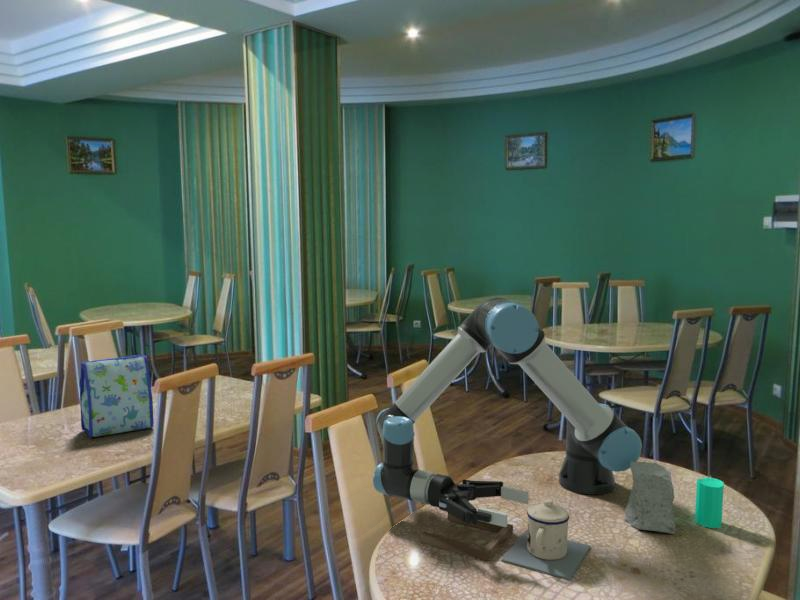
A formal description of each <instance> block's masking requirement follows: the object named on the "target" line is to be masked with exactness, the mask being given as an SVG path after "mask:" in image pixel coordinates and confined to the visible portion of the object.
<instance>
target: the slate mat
mask: <svg viewBox="0 0 800 600" xmlns="http://www.w3.org/2000/svg"><path fill="white" fill-rule="evenodd" d="M527 533H528V529H526V530H525V531H524V532H523V534H521V536H520V537H519V538H518V539H517V540H516V542H515V543H514V544H513V545H512V546H510V547H511V548H509V550H508V551H507V552H506V553H505V554H504V555H503V557H502V558H500V561H501V562H504V563H506V564H510V565H514V566H517V567H522V568H525V569H529V570H532V571H537V572H539V573H543V574H546V575H550V576H554V577H557V578H561V579H563V580H564V579H565V580H569V581H571V579H572V578H573V575H574V574H575V573H576V571H577V570H578V568H579V566H580V565H581V563H582V562H583V560H584V558H585V557H586V555H587V554H588V553H589V550H591V545H589V544H585V543H581V542H579V541H573V540H570V539H567V553H566V555H565V556H564V557H563V558H561V559H557V560H545V559H541V558H538V557H535V556H533V555H532V554H531V553H530V552H529V551H528V549H527Z"/></svg>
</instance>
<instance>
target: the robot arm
mask: <svg viewBox="0 0 800 600" xmlns="http://www.w3.org/2000/svg"><path fill="white" fill-rule="evenodd" d="M545 340H546V333H545V331H544V329H542V327H541V326H540V325H539V323H538V320H537V318H536V316H535V315H534V313H533V312H532V311H531V310H530V309H529V308H528V307H527V306H525V305H523V304H521V303H518V302H514V301H510V300H508V299H506V298H501V297H493V298H489V299H487V300H484V301H483V302H481V303H480V304H479V305H478V306H476V308H475V309H473V311H472V312H471V313H470V314H469V315H468V316H467V317H466V318H465V319H464V321H462V322H461V324H459V326H458V327H457V334H456V335H455V336H454V337H453V338H452V339H451V340H450V342H449V343H448V344H447V345H446V346H445V347H444V348H443V349H441V352H439V353H438V355H437V356H436V357H435V358H434V359H433V360H432V361H431V362H430V364H428V366H427V367H426V368H425V369H424V370H423V371H422V372H421V373H420V374H419V375H418V376H417V378H416V379H415V380H414V381H413V382H412V383H411V384H410V385H409V386H408V388H406V390H404V391H403V393H402V394H401V395H400V396H399V397H398V398H397V399H396V400H395V402H394V403H393V404H392V405H391V406H390V407H388V408H384V409H382V410H381V411H380V412H379V413H378V415H377V417H376V421H375V427H376V430H377V433H378V434H379V436H380V439H381V443H382V449H383V450H382V451H383V461H382V462H380V463H379V464H377V466H376V467H375V468H374V472H373V473H374V474H373V476H372V484H373V488H374V489H375V490H376V492H378V493H380V494H384V495H387V496H389V497H391V498H392V497H395V498H398V499H403V500H408V501H412V502H416V503H420V505H426V506H427V505H429V506H431V507H435V508H438V509H439V510H440V511H443V512H446V513H447V514H448V513H450V514H451V515H453V516H455V517H456V518H458V519H460V520H461V521H463V522H465V523H467V524H470V523H471V524H474V525H475V524H477V520H478V521H482V522H486V523H490V524H494V525H498V526H502V527H507V524H508V513H506V512H501V511H496V510H492V509H488V508H485V507H479V506H478V508H476V507H475V506H474V505H473V504H472V503H471V502H470V501H475V500H476V499H480V498H494V497H500V499H503V500H507V501H512V502H516V503H521V504H524V505H525V504H526V505H528V504H529V495H530V493H529V491H527V490H522V489H517V488H513V487H508V486H505V485H504V481H498V480H497V481H495V480H493V481H492V480H470V479H462V482H461V483H455V482H454V480H453V477H451V476H449V475H445V474H441V473H435V472H432V471H427V470H423V469H422V470H421V469H416V468H414V461H415V460H414V451H415V450H414V449H415V448H414V444H415V443H414V442H415V431H414V429H415V428H414V424H415V423H416V422H417V421H418V420H419V419H420V417H421V416H422V415H424V413H426V411H427V410H428V409H429V408H430V406H431V405H432V404H433V403H434V402H436V400H437V399H438V398H439V397H440V396H441V395H442V394H443V393H444V392H445V391H446V389H447V388H448V387H449V386H450V385H451V384H452V383H453V382H454V380H455V379H456V378H457V377H458V376H459V375H460V374H461V373H462V372H464V370H465V368H467V366H469V364H470V363H471V362H472V361H473V360H474V359H475V358H476V356H477V355H479V353H485V352H486V351H487V350H488V349H489V348H490V347H491V346H493V347H494V348H495V349H496V351H498V352H499V354H500V355H502V357H503V358H504V359H505V360H506V362H508V363H509V364H511V365H518V366H519V367H520V368H521V369H522V370H523V371H524V372H525V374H526V375H527V376H528V377H529V378H530V379H531V380H532V381H533V382H534V384H535V385H536V386H537V387H538V388H539V389H540V390H541V391H542V393H543V394H544V395H545V396H546V397H547V398H548V399H549V400H550V401H551V403H552V404H553V405H554V406H555V408H557V409H558V410H559V412H561V414H562V415H563V416H564V417H565V418H566V432H565V434H566V437H565V457H564V459H563V461H562V465H561V468H560V470H559V473H558V483H559V485H560V486H561V487H563V488H564V489H566V490H568V491H571V492H575V493H578V494H583V495H604V494H608V493H611V492H612V491H613V490H614V489H615V486H616V485H615V483H616V480H615V478H616V477H615V475H614V473H613V472H616V473H617V472H624V471H627V470H629V469H631V468H630V462H631V461H632V462H639V459H640V458H641V455H642V449H643V444H642V439H641V437H640V435H639V434H638V433H637V432H636V431H635V430H634V429H633V428H631V427H628V426H627V424H625V423H624V421H622V419H621V418H620V417H619V416H618V415H617V414H616V412H614V410H613V409H612V408H611V406H610V405H609V404H605V403H599V402H598V401H597V400H596V399H595V398H594V397H593V395H592V394H591V393H590V392H589V391H588V390H587V389H586V387H585V386H584V385H583V384H582V383H581V382H580V381H579V380H578V378H577V377H576V376H575V375H574V373H573V372H572V371H571V370H570V369H569V368H568V366H566V364H564V362H563V361H562V360H561V359H560V357H558V355H557V353H555V352H554V350H553V349H552V348H551V347H550V345H548V344H547V343H546V341H545ZM467 524H466V525H467Z"/></svg>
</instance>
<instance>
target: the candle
mask: <svg viewBox="0 0 800 600" xmlns="http://www.w3.org/2000/svg"><path fill="white" fill-rule="evenodd" d="M724 486H725V482H724V481H722V480H721V479H718V478H714V477H712V475H709V477H708V476H707V477H704V478H697V480H696V492H695V511H694V522H695V521H696V522H697V523H698V524H700V525H702V526H704V527H703V528H705V527H709V528H708V529H710V528H717V529H719V528H718V527H720V526H721V527H722V525H721V524H722V523H723V505H724V504H723V503H724V488H725V487H724ZM696 522H695V523H696ZM697 523H696V524H697ZM698 524H697V525H698ZM700 525H699V526H700ZM702 526H701V527H702ZM721 527H720V528H721Z"/></svg>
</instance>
